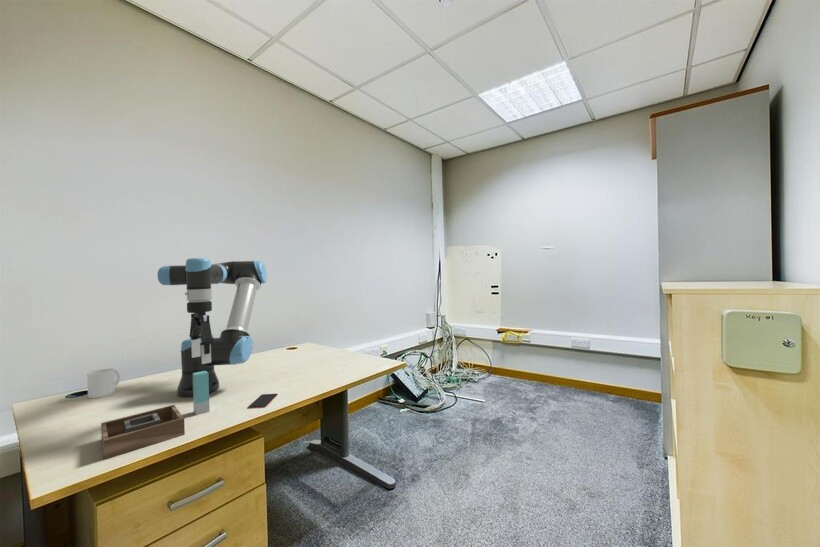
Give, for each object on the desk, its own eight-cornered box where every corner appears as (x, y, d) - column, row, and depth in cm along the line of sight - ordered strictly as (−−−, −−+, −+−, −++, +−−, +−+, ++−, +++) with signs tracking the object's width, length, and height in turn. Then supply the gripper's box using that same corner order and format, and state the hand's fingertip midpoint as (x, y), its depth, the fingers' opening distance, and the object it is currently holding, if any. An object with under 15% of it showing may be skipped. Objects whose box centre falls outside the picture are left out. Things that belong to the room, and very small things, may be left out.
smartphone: (278, 393, 132) (265, 407, 118) (279, 394, 132) (265, 408, 118) (261, 394, 131) (245, 408, 117) (261, 395, 131) (245, 409, 117)
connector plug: (193, 412, 116) (192, 373, 116) (206, 408, 119) (205, 370, 119) (196, 415, 113) (195, 375, 113) (209, 411, 116) (208, 372, 116)
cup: (82, 398, 133) (81, 374, 133) (110, 388, 145) (110, 366, 145) (101, 398, 132) (100, 374, 133) (128, 388, 144) (127, 365, 144)
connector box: (101, 439, 97) (101, 423, 97) (174, 419, 110) (174, 404, 110) (103, 459, 86) (103, 441, 86) (184, 434, 99) (184, 418, 99)
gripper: (179, 300, 122) (180, 356, 122) (196, 303, 105) (198, 368, 105) (202, 299, 127) (203, 352, 127) (221, 301, 110) (223, 363, 110)
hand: (201, 360), depth 116 cm, fingers open, 13 cm apart
